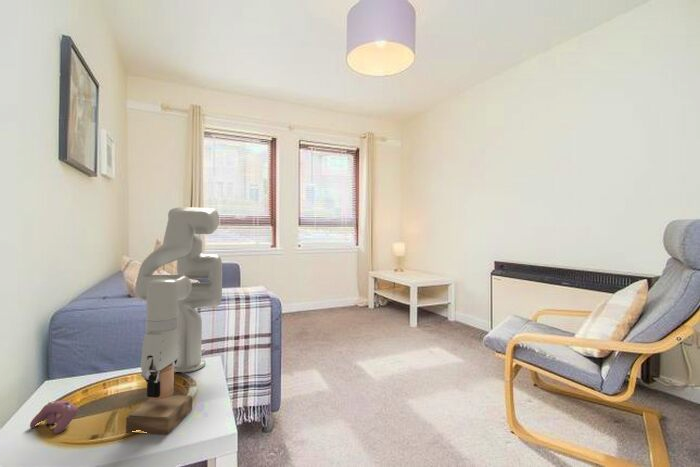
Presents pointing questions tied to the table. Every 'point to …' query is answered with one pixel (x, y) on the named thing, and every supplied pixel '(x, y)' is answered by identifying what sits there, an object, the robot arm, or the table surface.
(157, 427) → the walnut block
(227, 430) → the table surface
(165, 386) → the canister
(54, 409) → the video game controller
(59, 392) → the table surface
